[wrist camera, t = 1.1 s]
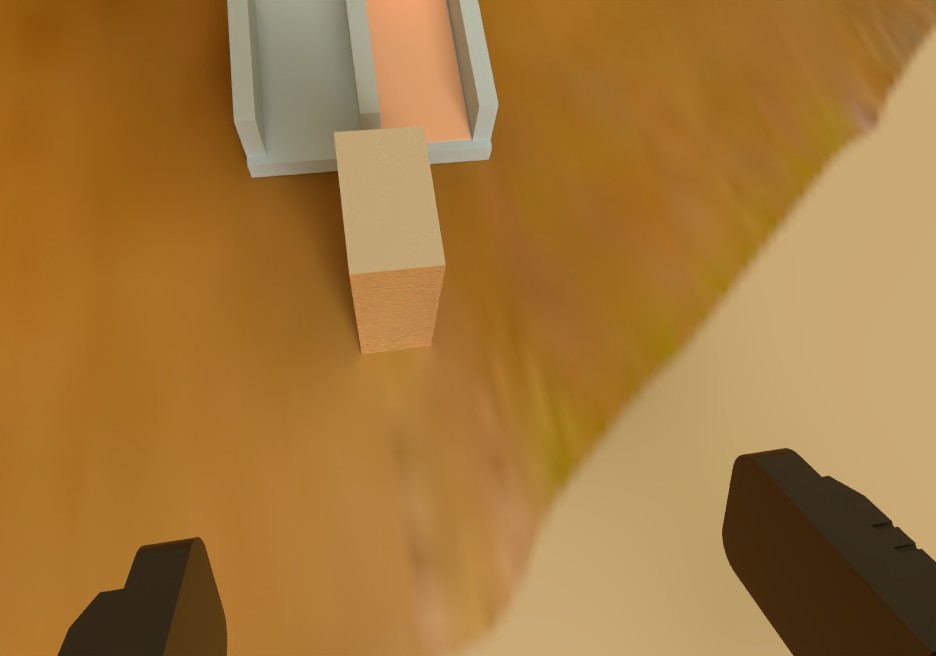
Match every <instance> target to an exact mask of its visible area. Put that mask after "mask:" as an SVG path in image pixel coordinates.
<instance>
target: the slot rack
mask: <svg viewBox="0 0 936 656" xmlns="http://www.w3.org/2000/svg"><path fill="white" fill-rule="evenodd" d="M227 6H228V24H229V42H230V60H231V78H232V97H233V115H234V123H235V126H236V129H237V132H238V134H239V137H240V140H241V143H242V145H243V148H244V151H245V153H246V156H247V166H248V169H249V171H250V174H251V177H252V178H254V177H267V176H280V175H294V174H307V173H320V172H333V171H338V166H337V157H336V148H335V139H334V132H343V131H358V130H373V129H388V128H402V127H417V126H424V130H425V137H426V143H427V149H428V156H429V162H430V164H438V163H451V162H464V161H478V160H489V158H490V153H491V149H492V145H491V140H490V139H491V135H492V131H493V127H494V122H495V118H496V114H497V110H498V105H499V104H498V99H497V94H496V89H495V84H494V79H493V74H492V69H491V64H490V59H489V54H488V49H487V44H486V39H485V34H484V29H483V24H482V19H481V14H480V9H479V4H478V0H227Z"/></svg>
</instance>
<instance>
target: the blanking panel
mask: <svg viewBox="0 0 936 656" xmlns="http://www.w3.org/2000/svg"><path fill="white" fill-rule="evenodd" d="M334 139H335V148H336V157H337V166H338V176H339V185H340V194H341V203H342V213H343V222H344V231H345V240H346V250H347V259H348V268H349V276H350V283H351V289H352V296H353V302H354V309H355V315H356V321H357V328H358V334H359V341H360V347H361V353H362V354H366V353H374V352H383V351H391V350H400V349H408V348H417V347H425V346H431V343H432V338H433V332H434V327H435V321H436V316H437V310H438V304H439V299H440V293H441V288H442V282H443V277H444V271H445V266H446V264H445V258H444V251H443V245H442V239H441V232H440V226H439V219H438V213H437V207H436V200H435V194H434V188H433V181H432V175H431V168H430V162H429V156H428V149H427V143H426V137H425V130H424V126H417V127H402V128H388V129H373V130H358V131H343V132H334Z"/></svg>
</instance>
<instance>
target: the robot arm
mask: <svg viewBox="0 0 936 656" xmlns="http://www.w3.org/2000/svg"><path fill="white" fill-rule="evenodd" d="M722 537H723V545H724V549H725V553H726V556H727V558H728V561H729V563H730V565H731V567H732V569H733V570H734V572H735V573H736V575H737V576H738V578H739V579H740V581H741V582H742V583H743V585H744V586H745V588H746V589H747V591H748V592H749V593H750V595H751V596H752V598H753V599H754V600H755V602H756V603H757V605H758V606H759V607H760V609H761V610H762V612H763V613H764V615H765V616H766V617H767V619H768V620H769V622H770V623H771V624H772V626H773V627H774V629H775V630H776V632H777V633H778V634H779V636H780V637H781V639H782V640H783V642H784V643H785V644H786V646H787V647H788V649H789V650H790V652H791V653H792V654H793V656H936V562H935V561H934V560H933V559H932V558H931V557H930V556H929V555H928V554H927V553H925V552H924V551H923V550H922V549H917V548H916V545H915V542H914V541H913V540H911V539H910V538H909V537H908V536H907V535H906V534H905V533H904V532H903V531H902V530H901V529H900V528H899V527H894V526H893V524H892V521H891V520H890V519H889V518H888V517H887V516H886V515H885V514H883V513H882V512H881V511H880V510H879V509H878V508H877V507H876V506H875V505H874V504H872V502H871V501H870V500H868V499H867V498H866V497H865V496H864V495H862V494H860V493H858V492H856V491H855V490H853V489H851V488H849V487H848V486H846V485H844V484H842V483H841V482H839V481H837V480H835V479H833V478H832V477H830V476H825V477H821V476H820V475H819V474H818V473H817V472H816V471H815V470H814V469H813V468H812V467H811V466H810V465H809V464H808V463H807V462H806V461H805V460H804V459H803V458H801V457H800V456H799V455H798V454H797V453H796V452H795V451H793V450H791V449H787V448H783V449H777V450H771V451H764V452H758V453H752V454H745V455H740V456H739V457H737V459H736V460H735V463H734V465H733V471H732V476H731V482H730V488H729V494H728V499H727V506H726V512H725V517H724V523H723V529H722ZM226 655H227V629H226V620H225V614H224V610H223V607H222V603H221V600H220V596H219V593H218V590H217V586H216V583H215V579H214V576H213V572H212V569H211V565H210V562H209V558H208V555H207V551H206V548H205V545H204V543H203V541H202V540H201V538H199V537H196V538H190V539H183V540H177V541H170V542H164V543H157V544H151V545H144V546H142V547H140V548H139V550H138V551H137V553H136V556H135V558H134V561H133V564H132V567H131V570H130V572H129V575H128V578H127V581H126V584H125V586H124V589H119V590H113V591H106V592H100V593H99V594H98V595H97V596H96V597H95V599H94V600H93V601H92V602H91V603H90V604H89V606H88V607H87V608H86V609H85V610H84V611H83V613H82V614H81V615H80V616H79V617H78V618H77V620H76V621H75V622H74V623H73V624H72V625H71V627H70V628H69V630H68V632H67V634H66V637H65V639H64V642H63V644H62V646H61V649H60V651H59V653H58V656H226Z"/></svg>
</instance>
